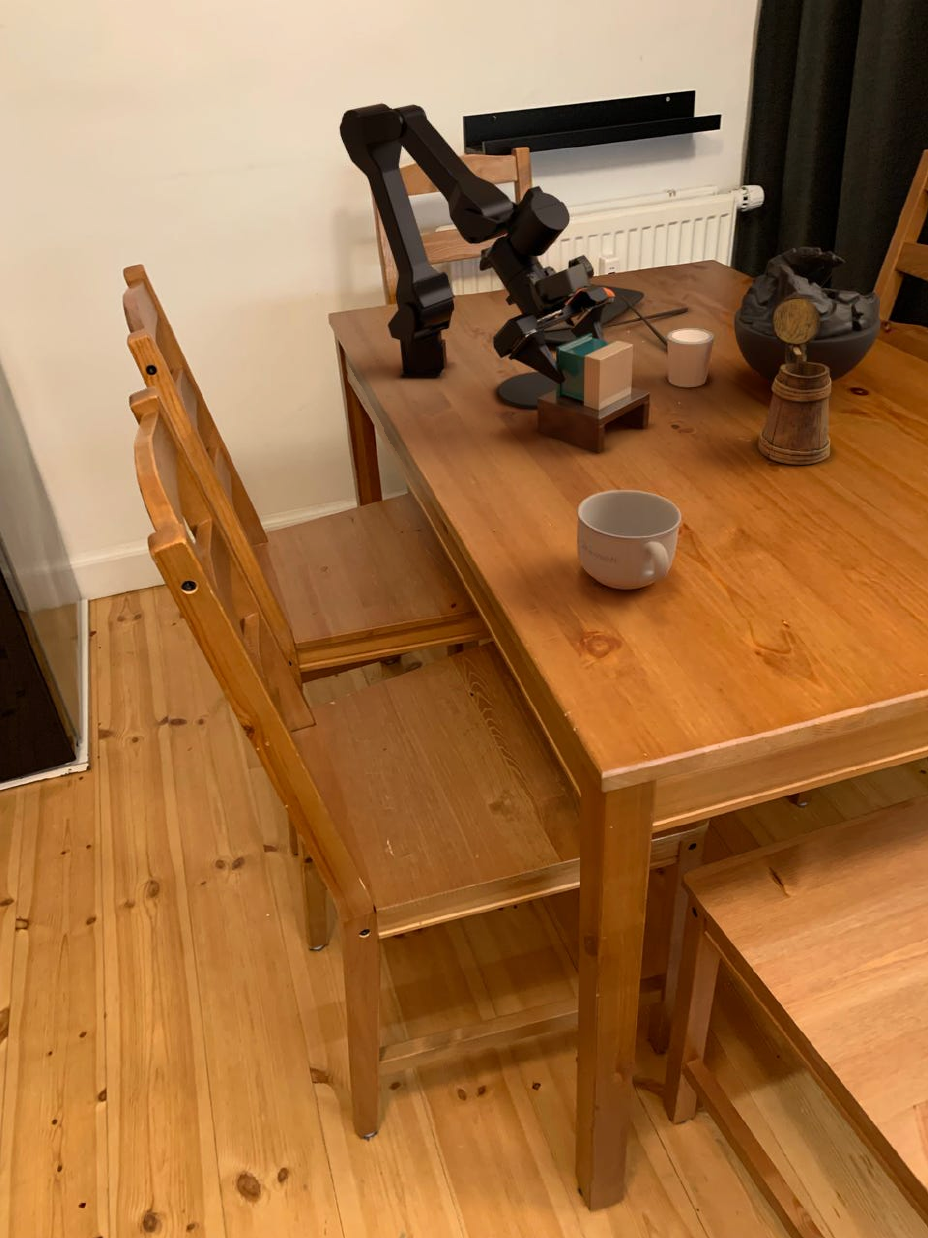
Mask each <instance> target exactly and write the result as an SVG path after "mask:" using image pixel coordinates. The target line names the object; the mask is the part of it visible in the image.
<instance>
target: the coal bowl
mask: <svg viewBox="0 0 928 1238" xmlns="http://www.w3.org/2000/svg"><path fill="white" fill-rule="evenodd" d="M845 263H846V261H845V260H844V259H843V258H841V257H840V256H837V255H836V254H835V253H834V252H833V251H831V250H829V251H826V252H822V250H821V248H820V247H809V246H801V247H799V248H797V249H796V248H795V247H792V248H790V249H789V250H787V251H785V252H783V253H782V254H778V255H776V256H775V257H773V258H771V259H769V260H768V261H767V264H766V268H765V271H764V274H761V275H760V274H759V275H758V276H755V277H754V278H753V279H752V280H751V281H752V284H751V285H750V286H749V288H748V289H747V291H746V293H745V294H744V295H743V297H742V298H741V306H740V308H738V309H737V310H736V312H735V314H734V319H733V326H734V335H735V339H736V344H737V346H738V349H739V351H740V353H741V356H742V357H743V358H744V360H745V362H746V363H747V364H748V366H749V367H750V368H751V369H752V370H753V371H754V372H755V373H756V374H757V375H759V376H760V377H762V378H763V379H765V380H766V381H768V382H770V383H772V384H773V383H774V380H775V378H776V376H777V375H778V374H779V371H780V367H781V366H782V365H783V364H786V362H785V346H784V345H783V344H782V343H781V342H779V341H778V340H777V338H776V337H775V335H774V333H773V322H772V318H773V313H774V310H775V308H776V307H777V305H778V304H779V303H780V302H781V301H783V300H784V299H785V298H786V297H788V296H789V295H791V294H792V293H794V292H798V293H800V294H802V295H803V296H805V297H807V298H808V299H809V300H811V301H812V302H813V303H814V305H815V306H816V308H817V310H818V312H819V316H820V325H819V331H818V334H817V335H816V336H815V338H814V339H813V340H812V341H811V342H809V343H808V344H807V345H806V351H807V360H806V362H812V363H819V364H823V365H826V366H827V367H828V368H829V369H830V378H831V383H833V382H835V381H837V380H839V379H841V378H842V377H844V376H845V375H847V374H848V373H850V372H851V371H852V370H853V369H855V368H856V367H857V366H858V365H859V364H860V363H861V362H862V361H863V360H864V359H865V357H866V356H867V354H868V353H869V352H870V351H871V349H872V347H873V346H874V343H875V341H876V339H877V336H878V334H879V331H880V328H881V324H882V321H881V318H880V307H881V299H880V298H879V295H878V294H877V292H875V291H873V292H870V293H868V294H866V295H861V294H860V293H859V292H857V291H855V290H853V291H852V290H851V291H850V290H841V289H835V288H834V289H831V288H828V287H827V288H826V287H824V285H825V284H826V283H827V282H828V281H829V279H830V277H831V276H832V275H833V273H834V272H835V270H836V269H837V268H839V267H841V266H842V265H844V264H845Z"/></svg>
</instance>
